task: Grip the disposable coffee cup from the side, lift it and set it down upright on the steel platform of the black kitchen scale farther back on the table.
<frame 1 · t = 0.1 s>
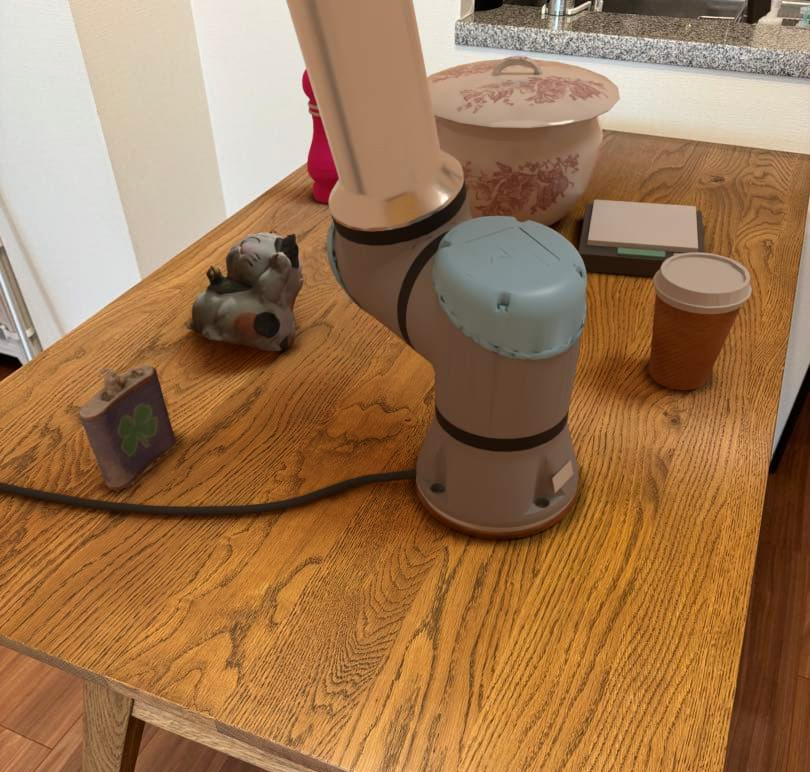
pepper mill: (333, 196, 123), on the table
kitchen scale: (638, 248, 107), on the table
disposable coffee cup: (677, 375, 86), on the table
flask: (142, 464, 78), on the table
chamber pot: (506, 214, 116), on the table
lucky cat figurine: (251, 335, 95), on the table
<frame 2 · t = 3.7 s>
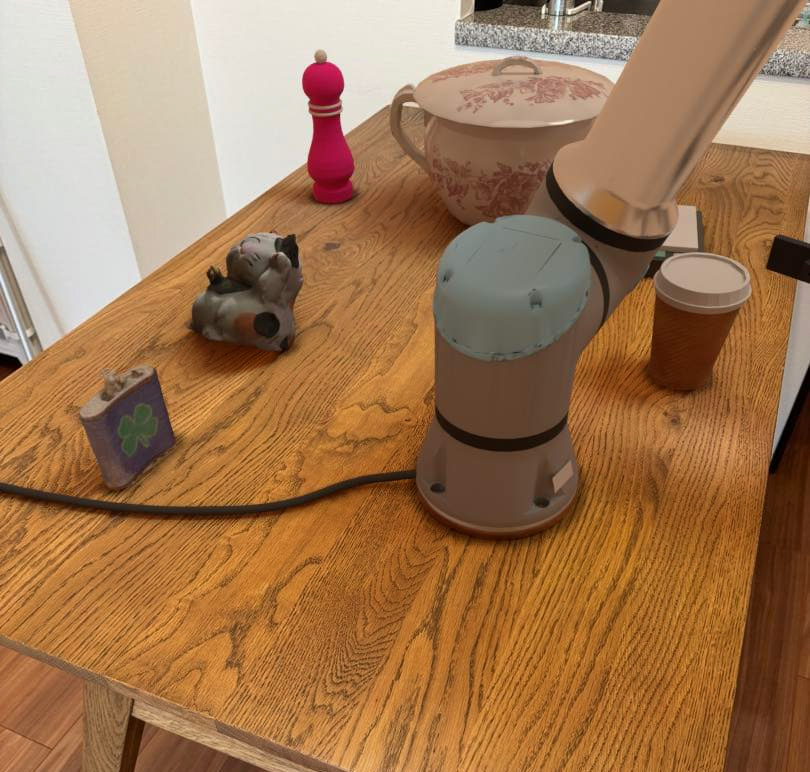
nothing on the table moved.
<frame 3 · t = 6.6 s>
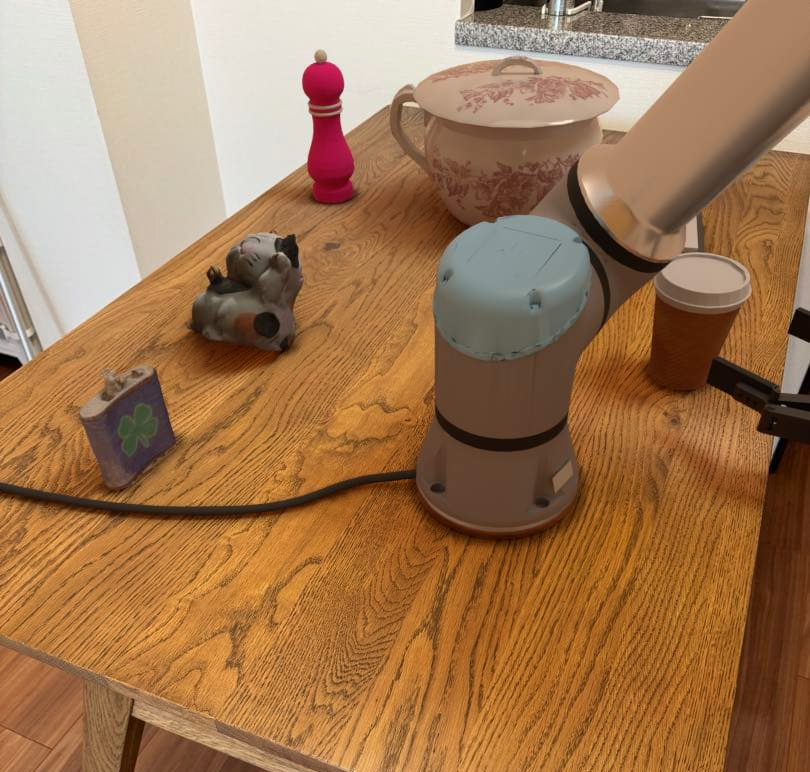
hand: (753, 343, 77), 7 cm above the table, tool horizontal, fingers open, 13 cm apart
nothing on the table moved.
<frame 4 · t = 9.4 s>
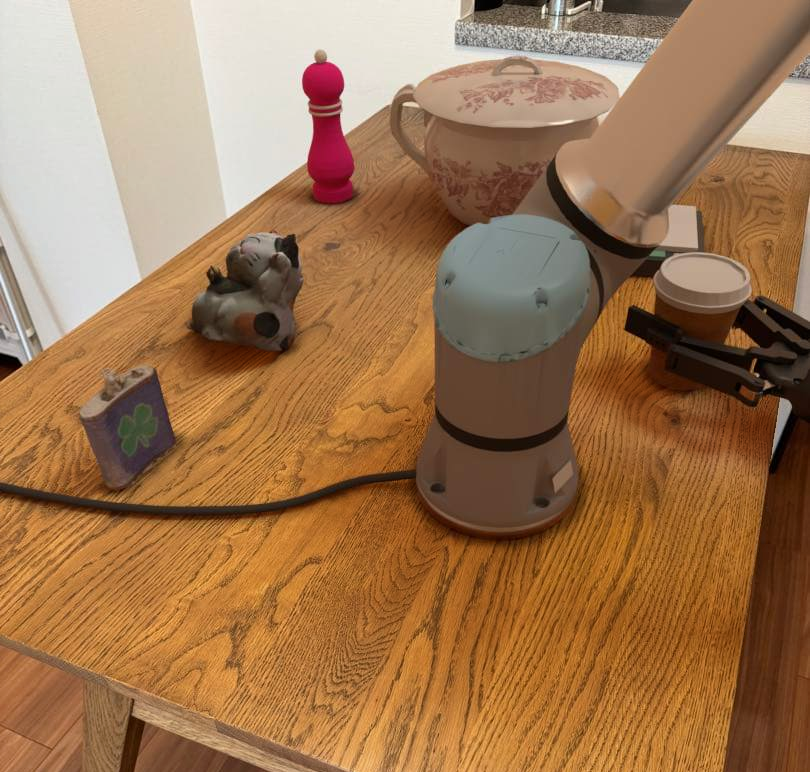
hand: (655, 303, 84), 7 cm above the table, tool horizontal, fingers closed on disposable coffee cup, 8 cm apart
disposable coffee cup: (677, 375, 86), on the table, touching gripper
everything else where it was.
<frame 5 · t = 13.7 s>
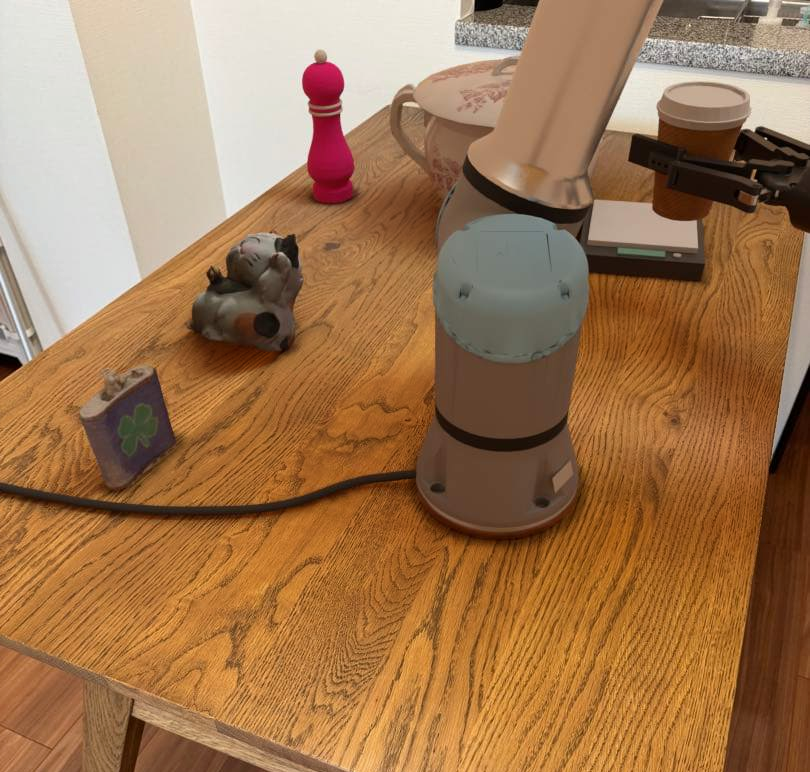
hand: (658, 137, 87), 18 cm above the table, tool horizontal, fingers closed on disposable coffee cup, 8 cm apart
disposable coffee cup: (679, 211, 89), point 11 cm above the table, touching gripper
everything else where it was.
when the fingers open (10 cm above the table, at t = 18.4 s): disposable coffee cup stays where it is, resting on kitchen scale.
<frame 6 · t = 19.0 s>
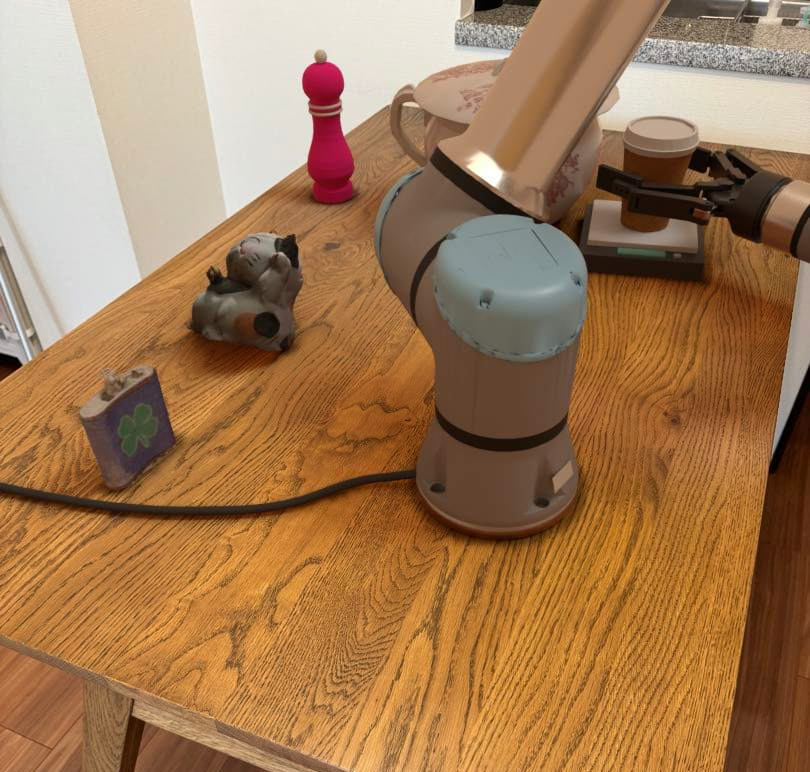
hand: (633, 161, 103), 10 cm above the table, tool horizontal, fingers open, 13 cm apart
disposable coffee cup: (643, 223, 106), point 3 cm above the table, touching kitchen scale
everything else where it was.
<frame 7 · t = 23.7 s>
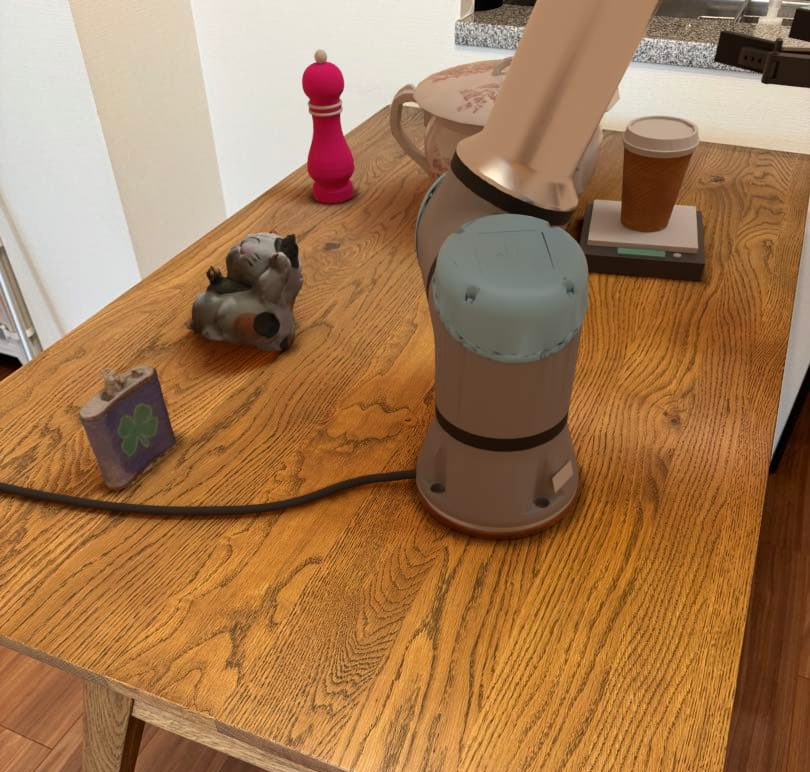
hand: (757, 33, 83), 27 cm above the table, tool horizontal, fingers open, 13 cm apart
nothing on the table moved.
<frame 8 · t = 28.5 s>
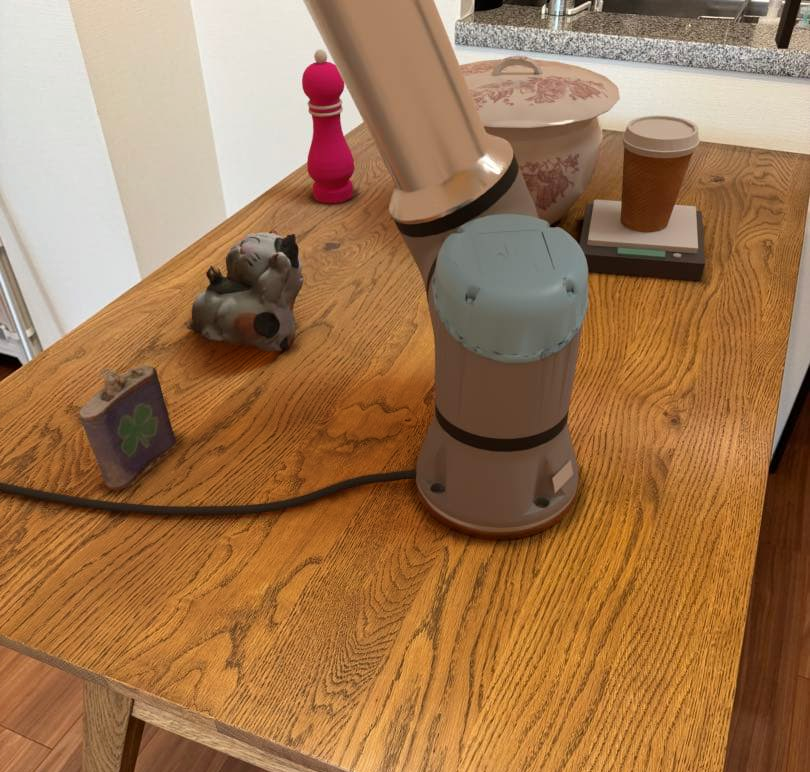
nothing on the table moved.
at the end: disposable coffee cup inside the target area on the kitchen scale (0.3 cm from its centre), point 3.0 cm above the kitchen scale's base; disposable coffee cup tilted 0°; the gripper is holding nothing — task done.
